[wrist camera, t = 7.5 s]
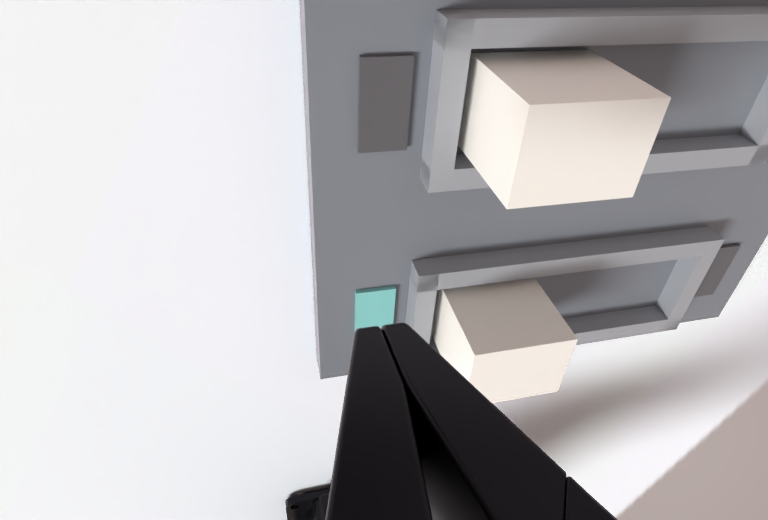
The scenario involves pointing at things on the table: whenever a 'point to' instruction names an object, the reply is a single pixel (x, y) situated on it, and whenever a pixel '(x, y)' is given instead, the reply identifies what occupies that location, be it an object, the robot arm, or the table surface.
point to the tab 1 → (557, 126)
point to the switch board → (531, 224)
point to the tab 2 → (504, 338)
